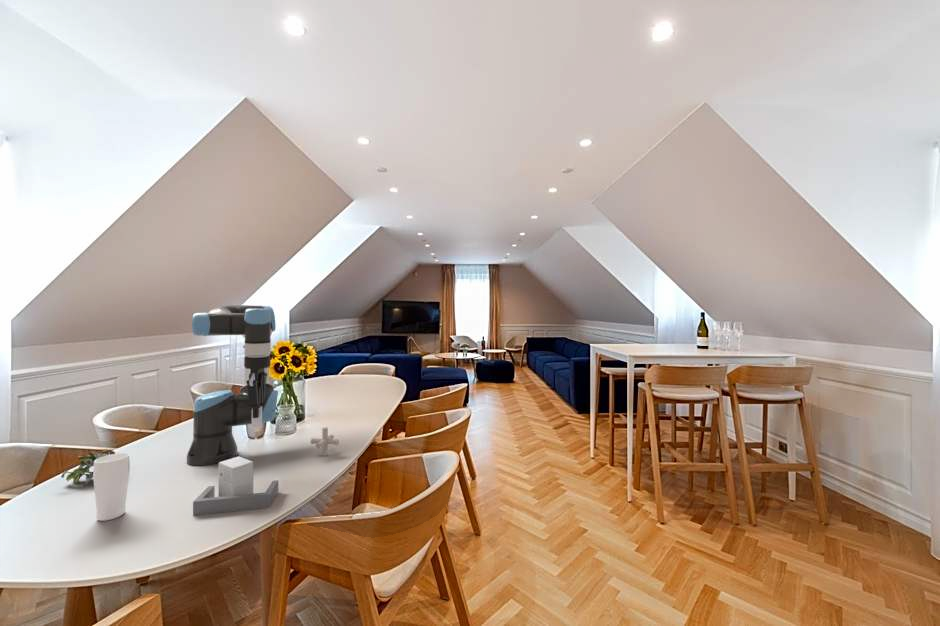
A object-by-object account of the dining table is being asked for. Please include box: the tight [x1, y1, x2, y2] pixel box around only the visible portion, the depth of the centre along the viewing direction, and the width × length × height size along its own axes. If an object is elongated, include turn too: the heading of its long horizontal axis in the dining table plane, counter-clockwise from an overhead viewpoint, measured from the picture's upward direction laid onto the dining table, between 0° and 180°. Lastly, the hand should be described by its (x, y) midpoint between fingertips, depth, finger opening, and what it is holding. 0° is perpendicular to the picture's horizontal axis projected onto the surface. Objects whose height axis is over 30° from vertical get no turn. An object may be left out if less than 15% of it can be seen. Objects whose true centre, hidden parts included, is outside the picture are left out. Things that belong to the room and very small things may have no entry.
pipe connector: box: [310, 426, 340, 457], centre depth 139 cm, size 10×10×10 cm
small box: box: [217, 456, 254, 497], centre depth 106 cm, size 8×6×10 cm
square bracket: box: [192, 479, 279, 516], centre depth 103 cm, size 18×9×4 cm, turn 103°
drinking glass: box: [92, 452, 131, 522], centre depth 96 cm, size 7×7×15 cm
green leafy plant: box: [60, 448, 117, 488], centre depth 116 cm, size 11×11×12 cm
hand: (256, 426), depth 124 cm, fingers closed
